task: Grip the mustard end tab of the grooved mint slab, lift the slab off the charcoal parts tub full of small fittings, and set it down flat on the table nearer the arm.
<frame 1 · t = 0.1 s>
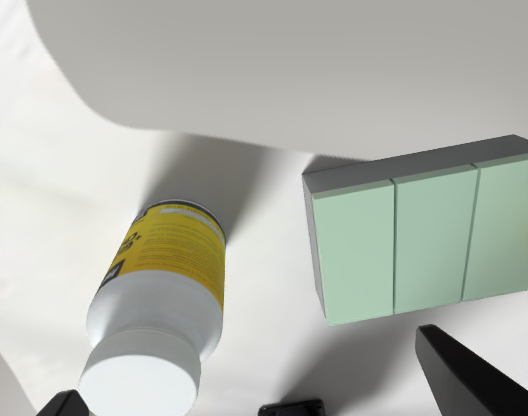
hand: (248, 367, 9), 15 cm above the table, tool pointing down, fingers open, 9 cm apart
tub: (405, 219, 25), on the table
grooved mint slab: (425, 242, 22), point 3 cm above the table, touching tub
pill bottle: (180, 235, 24), on the table
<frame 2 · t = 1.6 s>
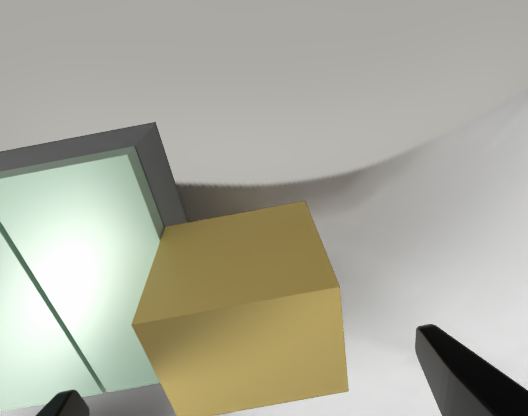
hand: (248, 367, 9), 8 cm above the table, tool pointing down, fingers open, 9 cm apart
tub: (40, 257, 16), on the table
grooved mint slab: (1, 304, 13), point 3 cm above the table, touching tub
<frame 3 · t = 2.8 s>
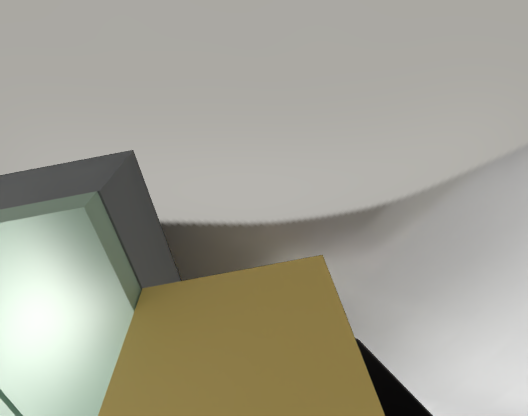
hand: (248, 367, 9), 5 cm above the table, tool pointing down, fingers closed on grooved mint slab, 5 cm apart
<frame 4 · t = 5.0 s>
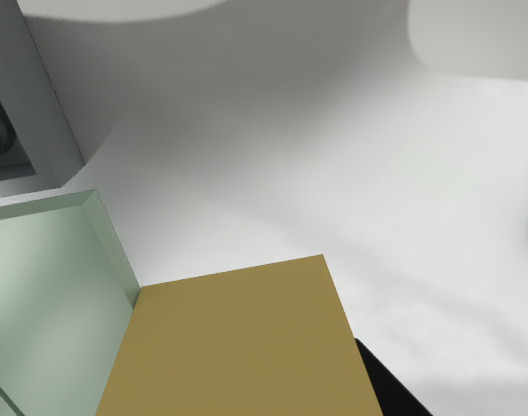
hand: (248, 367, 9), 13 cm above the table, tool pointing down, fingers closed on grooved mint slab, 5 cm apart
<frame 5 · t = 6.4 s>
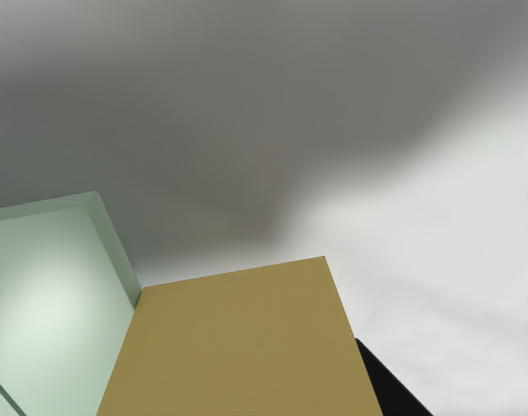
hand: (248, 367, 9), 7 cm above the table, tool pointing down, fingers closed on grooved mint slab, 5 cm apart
when the fingers open (3 cm above the table, at t = 7.5 s): grooved mint slab drops 2 cm, on the table.
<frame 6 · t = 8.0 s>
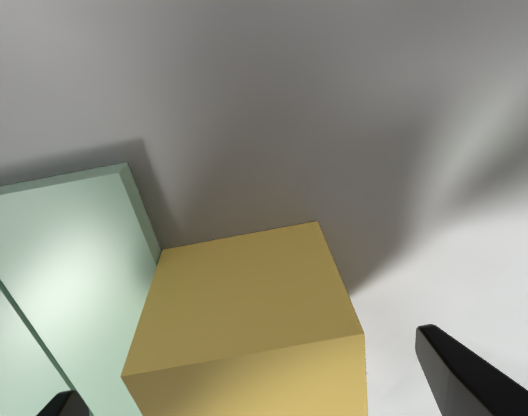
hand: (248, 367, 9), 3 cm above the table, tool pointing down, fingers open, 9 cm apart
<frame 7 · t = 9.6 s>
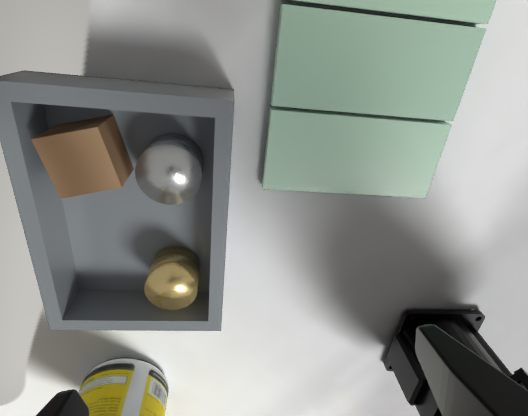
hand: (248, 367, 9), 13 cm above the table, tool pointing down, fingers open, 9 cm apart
walnut block: (96, 148, 18), resting on tub
tub: (141, 205, 20), on the table
brass bushing: (176, 265, 22), resting on tub
chrome dome knob: (174, 161, 19), resting on tub
grooved mint slab: (370, 66, 18), on the table
pill bottle: (129, 379, 28), on the table
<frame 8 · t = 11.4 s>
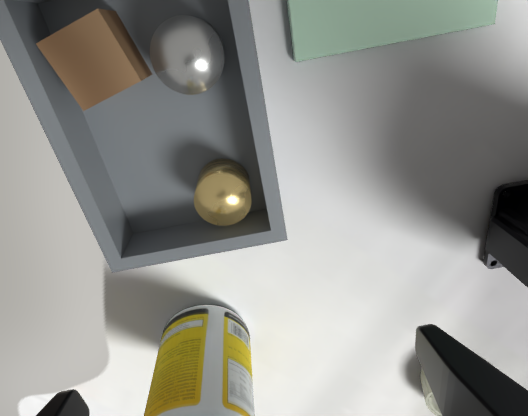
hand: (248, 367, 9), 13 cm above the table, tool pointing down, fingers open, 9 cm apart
wristwatch: (453, 375, 32), on the table
walnut block: (108, 58, 17), resting on tub
tub: (171, 120, 19), on the table
brass bushing: (223, 182, 20), resting on tub
chrome dome knob: (192, 53, 17), resting on tub
pill bottle: (207, 330, 26), on the table
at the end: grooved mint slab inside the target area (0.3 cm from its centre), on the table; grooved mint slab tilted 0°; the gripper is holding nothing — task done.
